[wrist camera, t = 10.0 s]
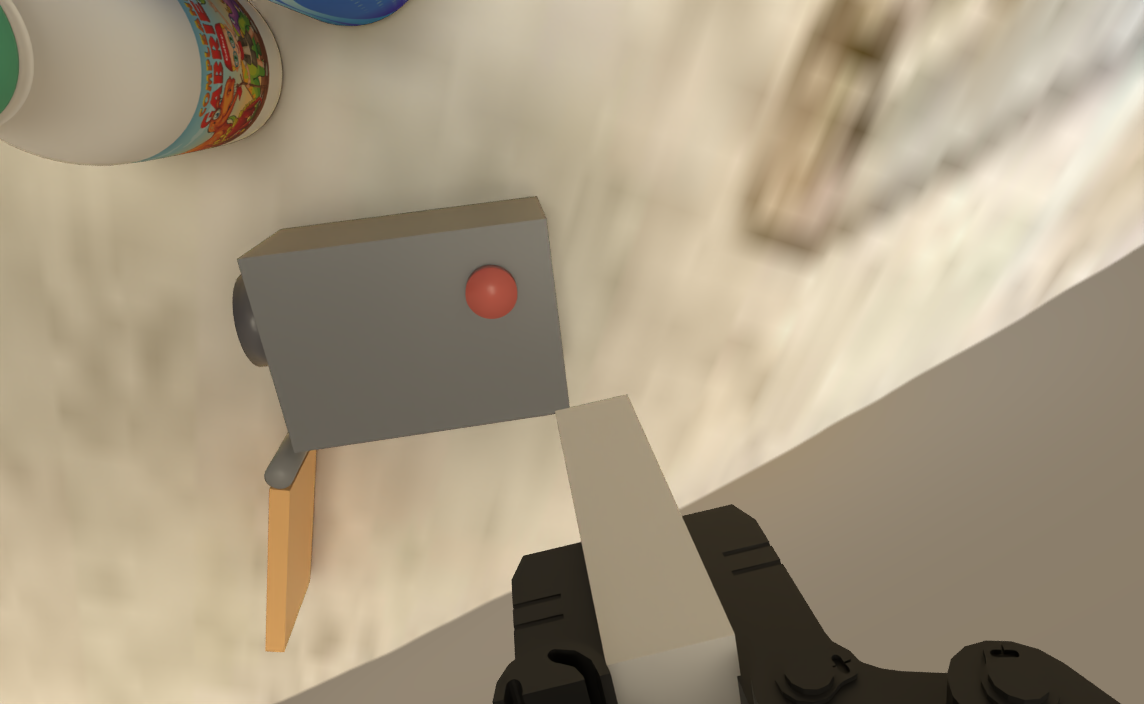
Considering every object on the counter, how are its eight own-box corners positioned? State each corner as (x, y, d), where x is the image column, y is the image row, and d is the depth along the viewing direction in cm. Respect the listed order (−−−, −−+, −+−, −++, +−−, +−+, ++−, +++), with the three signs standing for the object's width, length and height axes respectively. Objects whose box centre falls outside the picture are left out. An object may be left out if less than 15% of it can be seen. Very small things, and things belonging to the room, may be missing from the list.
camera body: (302, 399, 41) (262, 466, 34) (255, 232, 37) (199, 267, 30) (557, 362, 42) (572, 419, 35) (536, 196, 38) (547, 221, 31)
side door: (293, 407, 40) (259, 462, 34) (322, 410, 40) (294, 466, 34) (287, 577, 44) (255, 653, 38) (313, 579, 45) (286, 654, 39)
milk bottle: (176, 166, 36) (-163, 253, 17) (86, 10, 33) (-442, -90, 14) (314, 111, 35) (121, 139, 17) (235, -50, 33) (-102, -233, 14)
